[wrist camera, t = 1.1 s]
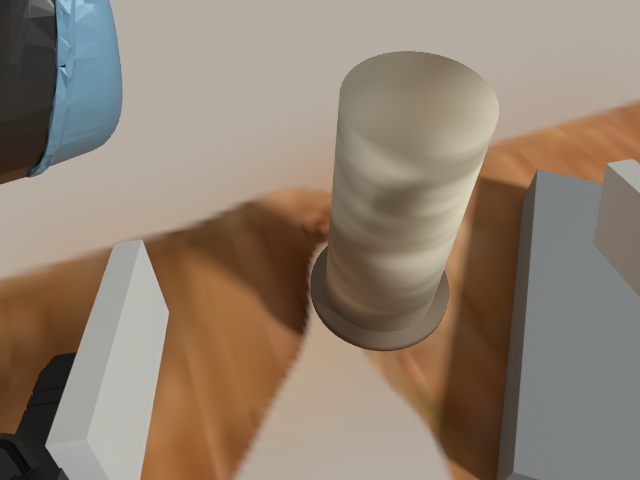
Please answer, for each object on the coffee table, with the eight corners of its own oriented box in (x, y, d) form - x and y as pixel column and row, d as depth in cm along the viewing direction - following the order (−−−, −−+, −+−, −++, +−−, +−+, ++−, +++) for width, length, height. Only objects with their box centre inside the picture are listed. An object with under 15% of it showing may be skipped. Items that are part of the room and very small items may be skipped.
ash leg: (293, 352, 33) (292, 144, 20) (328, 249, 38) (346, 25, 25) (425, 389, 32) (512, 193, 19) (446, 278, 36) (527, 60, 24)
